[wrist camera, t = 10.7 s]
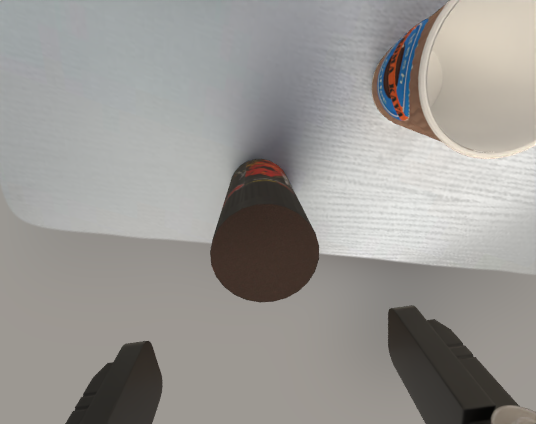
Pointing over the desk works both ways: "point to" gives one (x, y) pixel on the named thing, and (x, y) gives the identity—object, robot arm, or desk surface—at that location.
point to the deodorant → (263, 236)
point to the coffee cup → (466, 77)
